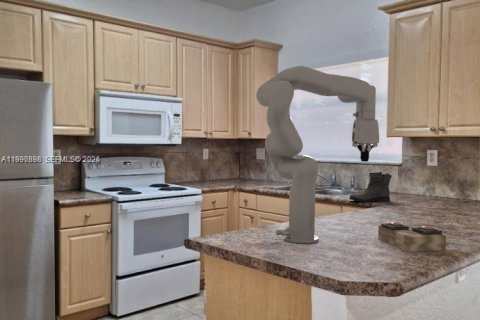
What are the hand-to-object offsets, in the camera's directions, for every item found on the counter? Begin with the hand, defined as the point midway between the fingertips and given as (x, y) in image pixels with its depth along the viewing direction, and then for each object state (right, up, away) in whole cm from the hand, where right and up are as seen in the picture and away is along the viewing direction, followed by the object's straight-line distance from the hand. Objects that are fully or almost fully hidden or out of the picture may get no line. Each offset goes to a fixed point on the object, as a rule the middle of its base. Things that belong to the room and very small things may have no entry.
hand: (364, 161), depth 174 cm
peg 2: (+15, -30, -23) cm, 41 cm away
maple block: (+11, -30, -19) cm, 37 cm away
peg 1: (+7, -30, -15) cm, 34 cm away
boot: (+33, -26, +102) cm, 110 cm away
